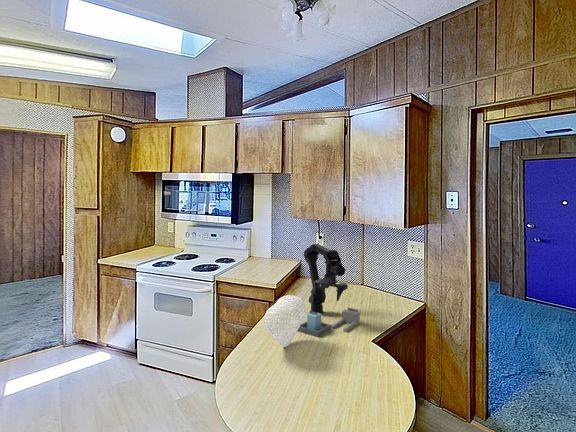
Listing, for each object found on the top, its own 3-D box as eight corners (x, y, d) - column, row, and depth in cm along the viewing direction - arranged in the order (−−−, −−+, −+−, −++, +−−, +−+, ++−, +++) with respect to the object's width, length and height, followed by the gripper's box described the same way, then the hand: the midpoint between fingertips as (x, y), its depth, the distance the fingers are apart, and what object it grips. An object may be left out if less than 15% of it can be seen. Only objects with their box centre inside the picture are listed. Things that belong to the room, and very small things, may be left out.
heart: (278, 333, 178) (279, 290, 177) (308, 336, 173) (308, 293, 172) (259, 357, 151) (260, 307, 150) (293, 362, 147) (294, 310, 145)
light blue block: (307, 329, 181) (307, 312, 181) (313, 326, 186) (313, 310, 186) (315, 332, 178) (315, 314, 178) (321, 328, 183) (321, 311, 183)
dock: (330, 328, 185) (330, 315, 185) (345, 319, 200) (346, 306, 199) (345, 332, 180) (346, 318, 180) (360, 322, 194) (360, 310, 194)
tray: (296, 331, 181) (297, 326, 181) (310, 323, 191) (310, 319, 191) (318, 337, 173) (318, 332, 173) (330, 329, 184) (330, 324, 183)
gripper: (309, 272, 193) (308, 299, 194) (338, 277, 182) (338, 306, 183) (319, 269, 202) (319, 295, 203) (348, 273, 191) (347, 301, 192)
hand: (330, 299), depth 195 cm, fingers open, 9 cm apart
